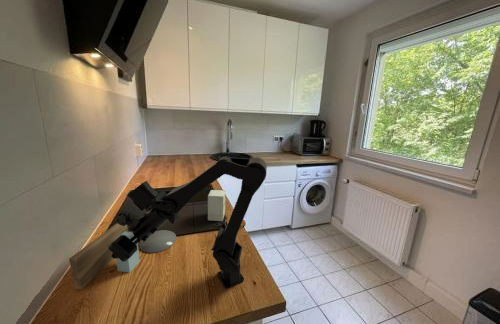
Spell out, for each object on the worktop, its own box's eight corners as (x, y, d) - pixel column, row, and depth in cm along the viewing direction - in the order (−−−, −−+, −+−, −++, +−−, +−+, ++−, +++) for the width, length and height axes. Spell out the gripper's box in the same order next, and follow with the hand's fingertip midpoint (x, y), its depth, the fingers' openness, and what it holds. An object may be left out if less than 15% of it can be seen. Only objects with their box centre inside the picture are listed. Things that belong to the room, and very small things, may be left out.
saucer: (179, 245, 76) (179, 244, 76) (140, 257, 70) (140, 255, 69) (172, 228, 87) (172, 227, 87) (138, 236, 80) (138, 235, 80)
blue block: (139, 261, 68) (136, 232, 65) (129, 272, 63) (126, 242, 60) (128, 259, 68) (124, 231, 66) (117, 271, 63) (113, 240, 61)
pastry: (242, 221, 96) (243, 213, 95) (247, 228, 90) (248, 221, 89) (223, 224, 92) (223, 216, 91) (227, 232, 86) (227, 224, 85)
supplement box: (223, 221, 94) (223, 196, 91) (207, 220, 94) (207, 195, 91) (225, 213, 101) (225, 190, 98) (210, 212, 101) (210, 189, 98)
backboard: (129, 243, 76) (126, 220, 73) (81, 289, 57) (75, 259, 54) (124, 243, 76) (121, 219, 74) (75, 288, 57) (69, 258, 54)
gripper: (152, 188, 68) (125, 214, 72) (110, 216, 50) (77, 249, 54) (175, 211, 70) (147, 236, 73) (143, 246, 52) (108, 276, 55)
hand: (123, 247), depth 64 cm, fingers open, 9 cm apart
